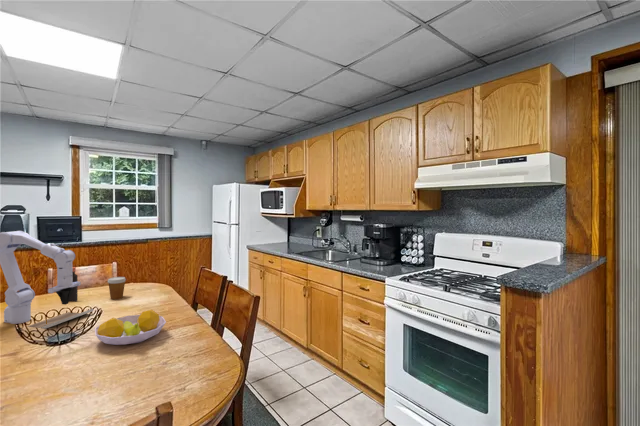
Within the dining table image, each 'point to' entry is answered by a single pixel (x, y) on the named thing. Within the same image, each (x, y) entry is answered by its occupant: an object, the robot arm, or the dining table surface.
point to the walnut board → (52, 320)
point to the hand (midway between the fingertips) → (65, 304)
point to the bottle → (75, 293)
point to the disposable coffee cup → (116, 287)
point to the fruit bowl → (130, 328)
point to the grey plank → (67, 319)
